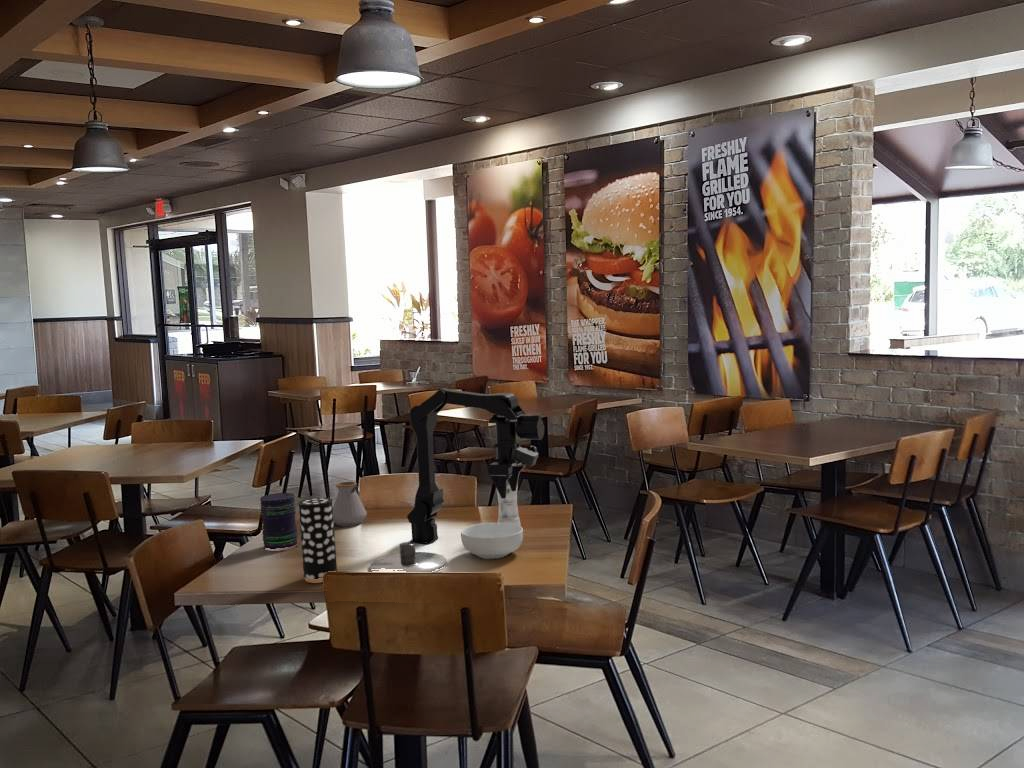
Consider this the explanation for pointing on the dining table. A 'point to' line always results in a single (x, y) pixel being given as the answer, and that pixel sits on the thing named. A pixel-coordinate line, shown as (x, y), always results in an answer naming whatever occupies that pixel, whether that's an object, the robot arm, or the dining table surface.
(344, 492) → the coffee pot
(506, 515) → the plastic bottle
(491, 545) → the cereal bowl
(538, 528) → the dining table surface
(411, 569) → the steel lid
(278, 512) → the storage jar
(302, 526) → the white-spotted black cylinder
